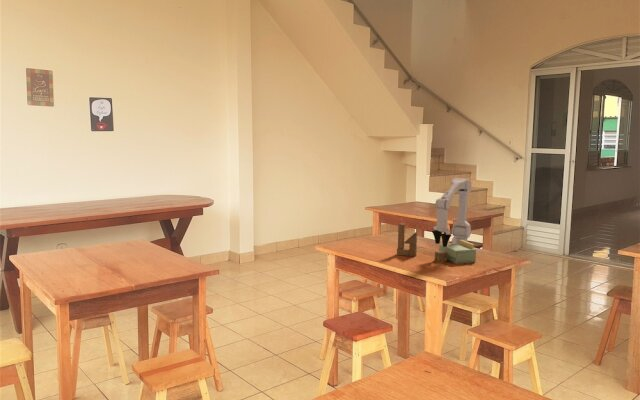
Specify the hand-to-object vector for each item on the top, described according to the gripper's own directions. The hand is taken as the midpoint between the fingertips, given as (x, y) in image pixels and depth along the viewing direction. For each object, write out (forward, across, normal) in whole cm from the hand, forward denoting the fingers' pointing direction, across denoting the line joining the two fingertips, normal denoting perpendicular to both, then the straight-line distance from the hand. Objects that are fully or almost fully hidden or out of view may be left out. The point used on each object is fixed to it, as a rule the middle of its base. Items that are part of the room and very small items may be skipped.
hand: (441, 245), depth 291 cm
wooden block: (+9, -17, -12) cm, 23 cm away
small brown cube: (+9, 0, 0) cm, 9 cm away
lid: (+5, 0, +10) cm, 11 cm away
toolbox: (+9, 0, +11) cm, 14 cm away
